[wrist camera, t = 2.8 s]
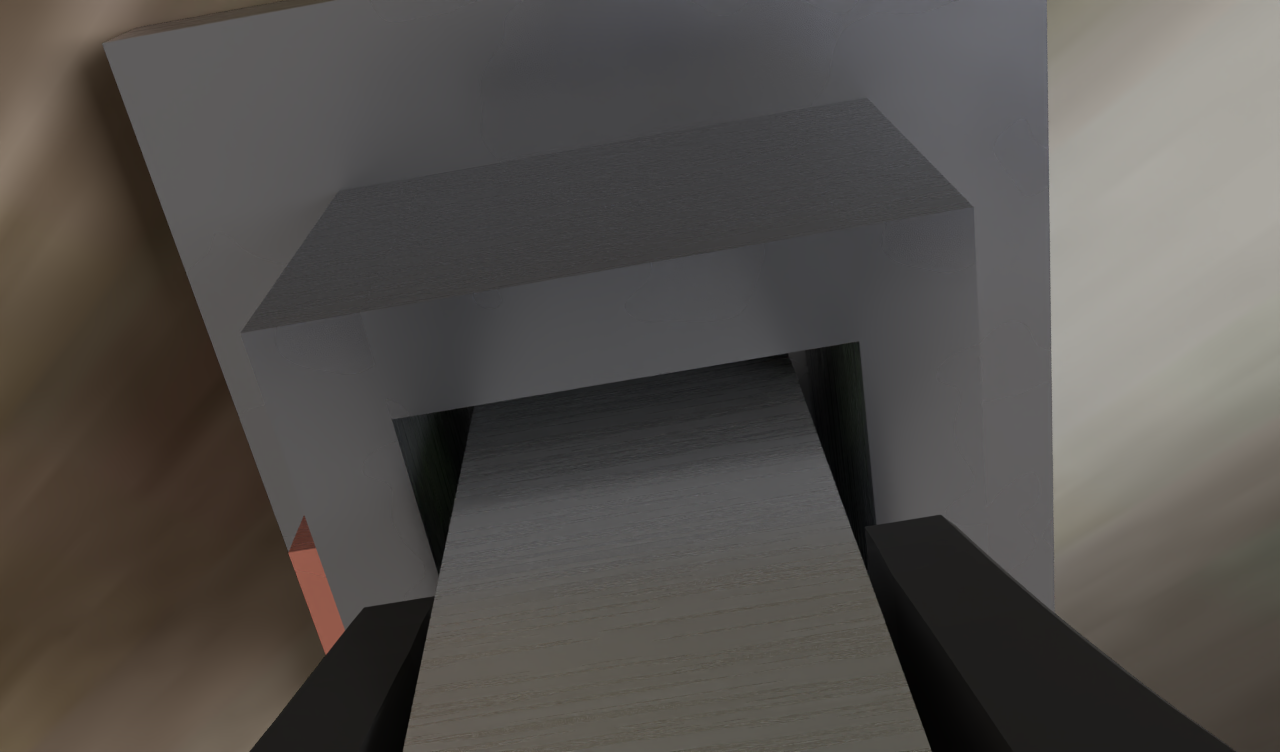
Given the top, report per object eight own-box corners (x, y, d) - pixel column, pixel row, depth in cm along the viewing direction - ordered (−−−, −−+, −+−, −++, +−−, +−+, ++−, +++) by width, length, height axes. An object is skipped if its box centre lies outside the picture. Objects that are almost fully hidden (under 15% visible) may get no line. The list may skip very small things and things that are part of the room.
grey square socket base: (1012, -134, 13) (1243, -108, 8) (1030, 594, 17) (1187, 871, 13) (135, 27, 13) (-106, 136, 9) (371, 698, 17) (294, 1003, 13)
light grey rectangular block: (760, 243, 13) (972, 794, 6) (790, 479, 15) (993, 1169, 7) (486, 289, 13) (346, 886, 6) (542, 519, 15) (489, 1238, 7)
